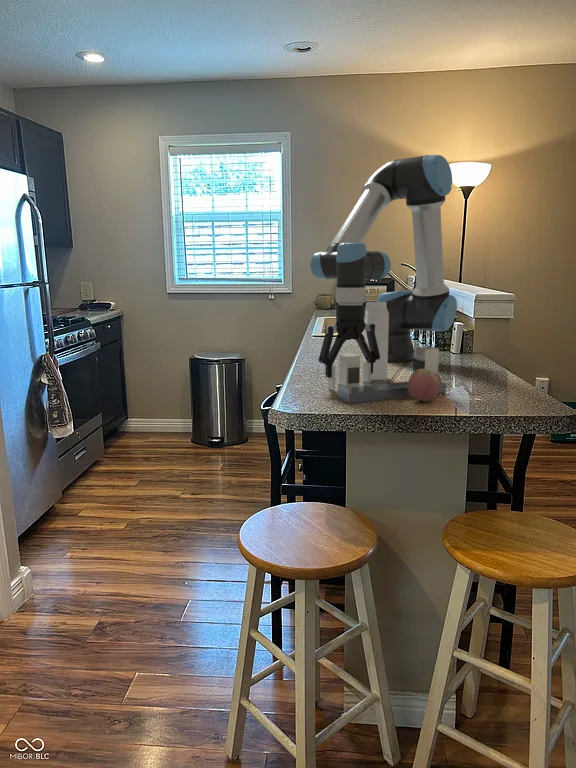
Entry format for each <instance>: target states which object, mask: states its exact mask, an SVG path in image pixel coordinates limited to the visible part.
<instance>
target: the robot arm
mask: <svg viewBox="0 0 576 768" xmlns="http://www.w3.org/2000/svg"><path fill="white" fill-rule="evenodd" d="M452 186H453V173H452V170H451V166H450V163H449V162H448V161H447V159H446V157H444V156H443V155H440V154H425V155H421V156H420V155H419V156H413V157H406V158H398V159H397V158H396V159H394V160H391V161H389V162H386V163H385V164H384V165H382V166H380V168H378V169H377V170H376V171H375V172H374V173H373V174H372V175H371V176H369V178H368V179H367V180H366V182H365V183H364V185H363V187H362V188H361V191H360V194H361V195H360V197H359V199H358V200H357V202H356V204H355V205H354V206H353V208H352V209H351V211H350V213H349V214H348V215H347V217H346V218H345V220H344V221H343V223H342V224H341V227H340V228H339V230H338V231H337V233H336V235H335V236H334V238H333V239H331V242H330V243H329V245H328V247H327V248H326V249H325V251H320V252H316V253H314V254H313V255H312V257H311V259H310V263H309V265H310V266H309V268H310V271H311V274H312V275H313V276H314V278H316V279H321V280H336V285H335V287H336V289H335V291H336V292H335V293H336V294H335V298H336V299H335V301H336V303H337V304H336V305H335V320H336V321H335V323H334V324H333V325H326V324H325V326H324V337H323V341H322V344H321V345H322V346H321V349H320V354H319V356H318V363H320V364H323V365H325V366H324V367H325V368H324V369H325V377H326V378H327V381H328V382H327V385H328V387H327V389H329V390H330V391H336V365H334V362H335V360H336V359H337V357H338V355H339V353H340V351H341V349H342V346H343V345H344V344H345V342H347V341H350V340H355V341H356V343H357V345H358V346H359V349H360V351H361V353H362V356H363V355H364V357H365V359H366V361H367V362H366V361H365V362H363V361H362V363H363V376H362V382H363V381H367V382H370V383H371V380H370V378H371V374H373V363H375V362H376V360H379V359H380V354H379V349H378V345H377V341H376V336H375V324H371V323H368V324H365V322H364V318H365V308H366V305H365V304H364V303H366V281H367V280H368V281H371V280H373V281H374V280H375V281H377V280H382V279H383V278H385V277H387V276H388V274H389V273H390V271H391V266H392V262H391V260H390V257H389V256H388V254H386V253H385V252H382V251H379V250H367V245H366V244H365V242H363V241H364V239H365V237H366V236H367V235H368V233H369V231H370V230H371V228H372V227H373V224H374V223H375V221H376V220H377V218H378V217H379V215H380V213H381V211H382V210H384V209H386V208H387V207H389V205H390V203H391V202H393V201H396V200H404V199H405V203H406V207H407V208H408V209H410V211H411V220H412V235H413V251H414V265H415V269H414V270H415V280H416V281H415V282H416V286H415V288H413V290H411V289H407V290H398V291H391V292H390V291H389V292H382V293H380V294H379V295H378V296H377V300H376V302H386V307H387V310H388V313H389V329H388V362H408V361H413V360H415V359H416V352H415V351H416V350H415V348H414V345H413V341H412V338H411V337H412V336H411V332H412V331H411V330H414V331H416V330H417V331H426V332H427V331H428V332H432V333H433V332H445V331H446V332H447V331H448V330H449V328H450V327H452V325H453V323H454V322H455V318H456V313H457V310H458V309H457V307H458V302H457V298H456V297H455V296H454V295H452V294H450V287H448V285H446V284H445V282H444V280H445V279H444V278H445V277H444V276H445V275H444V255H443V236H442V211H441V209H442V206H443V204H444V203H445V202H446V196H447V195H449V194H450V193H451V191H452V188H453V187H452ZM364 329H365V331H366V333H367V338H368V342H369V347H370V350H369V348H368V346H367V344H366V342H365V338H364V336H363V330H364ZM336 332H337V335H336V337H335V339H334V334H335V333H336ZM333 339H334V343H333ZM332 343H333V345H332ZM370 351H371V352H370Z"/></svg>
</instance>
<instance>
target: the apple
mask: <svg viewBox="0 0 576 768" xmlns="http://www.w3.org/2000/svg"><path fill="white" fill-rule="evenodd" d="M407 382H408V390H409V393H410V395H411V396H413V397H412V398H416V399H418V400H419V401H421V402H424V403H428V402H431V401H433V400H435V398H436V397H437V396H438V395H439V394H438V393H439V391H440V389H441V382H442V379H441V377H440V375H439V373H438V374H437V373H435V372H433V371H431V370H428V369H418V370H416V371H415V372H414V371H413V372H412V373H411V375H410V376H409V379H408V381H407Z"/></svg>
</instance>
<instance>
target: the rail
mask: <svg viewBox="0 0 576 768" xmlns="http://www.w3.org/2000/svg"><path fill="white" fill-rule="evenodd" d="M415 351H416V352H415V359H414V363H413V364H414V367H413V372H415V371H416V370H418V369H428V370H431V371H433V372H435V373H437V374H438V375H439V357H440V356H439V355H440V348H437V347H435V346H434V347H433V346H419V347H418V346H416V348H415ZM446 393H447V383H446V382H443V381H441V389H440V391H439V393H438V395H441V394H446ZM338 398H339V399H338ZM404 398H414V397H413V396H411V395H410V393H409V390H408V381H402V382H400V381H399V382H389V383H382V384H381V383H380V384H375V383H372V382H371V381H370V382H367V381H363V380H362V385H361V386H359V387H347V386H345V385H343V384H339V383H337V399H338V400H340V399H341V400H340V401H342V400H343V401H342V402H345V403H346V402H347V403H346V404H349V405H351V404H358V403H359V404H360V403H368V402H377V401H385V400H386V401H387V400H388V401H389V400H397V399H404Z"/></svg>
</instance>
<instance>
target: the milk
mask: <svg viewBox="0 0 576 768" xmlns="http://www.w3.org/2000/svg"><path fill="white" fill-rule="evenodd" d="M364 322H365V324H368V323H371V324H375V336H376V341H377V345H378V349H379V354H380V359H379V360H376V362H375V363H373V374H371V378H370V381H386V380H387V381H388V362H389V361H388V329H389V313H388V310H387V307H386V302H377V301H365V318H364ZM362 334H363V336H364V338H365V342H366V344H367V346H368V348H369V350H370V347H369V342H368V338H367V333H366V331H365V329H364V330H363V332H362ZM370 352H371V351H370ZM365 361H366V359H365V357H364V355H363V354H362V366H361V367H362V369H361V370H362V371H361V372H362V376H361V377H363V362H365ZM366 362H367V361H366Z"/></svg>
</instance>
